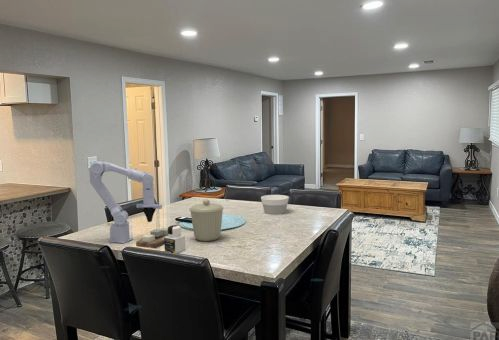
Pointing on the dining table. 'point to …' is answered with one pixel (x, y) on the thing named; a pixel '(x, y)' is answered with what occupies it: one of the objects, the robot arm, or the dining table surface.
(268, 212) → the bowl
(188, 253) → the dining table surface
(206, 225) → the canister
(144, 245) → the keypad board
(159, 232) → the grey key
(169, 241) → the medicine bottle
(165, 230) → the sage key
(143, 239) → the cream key
